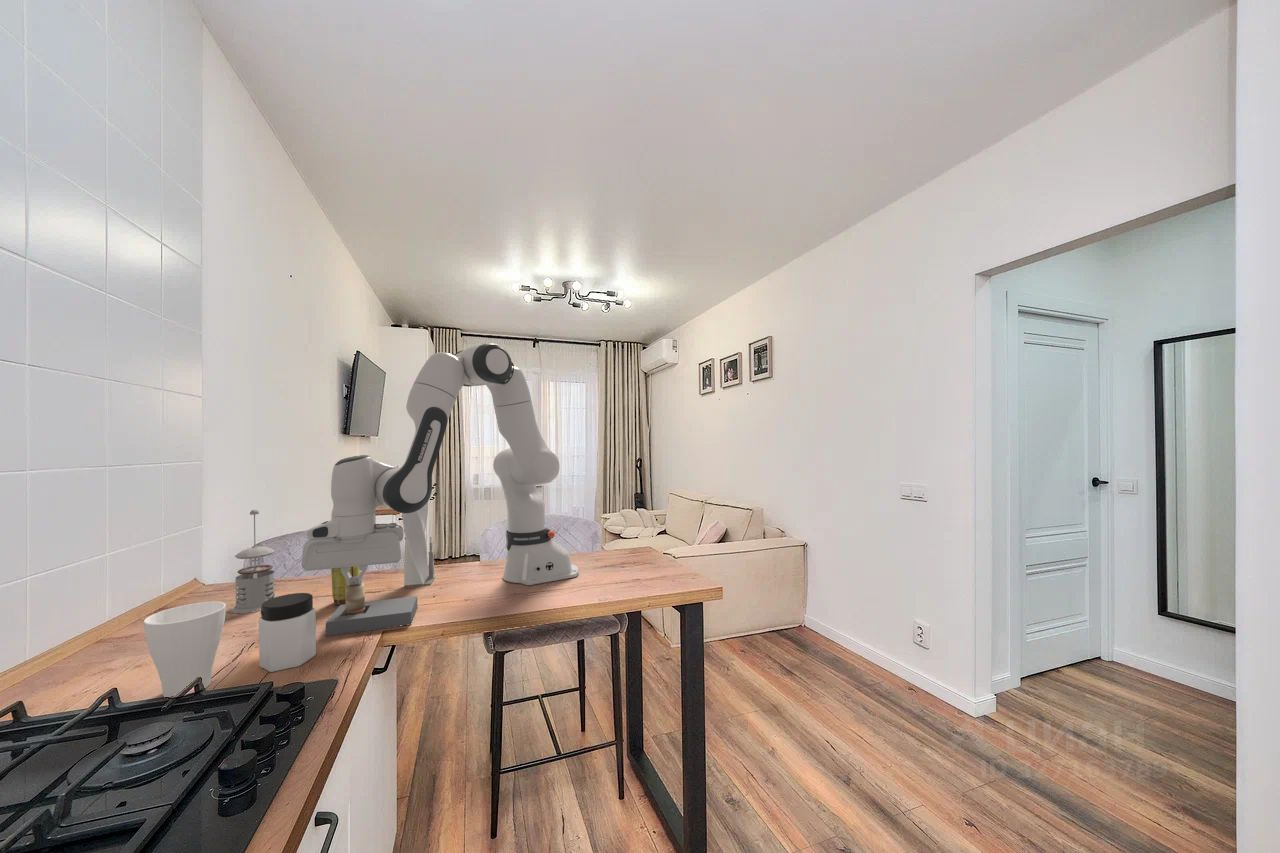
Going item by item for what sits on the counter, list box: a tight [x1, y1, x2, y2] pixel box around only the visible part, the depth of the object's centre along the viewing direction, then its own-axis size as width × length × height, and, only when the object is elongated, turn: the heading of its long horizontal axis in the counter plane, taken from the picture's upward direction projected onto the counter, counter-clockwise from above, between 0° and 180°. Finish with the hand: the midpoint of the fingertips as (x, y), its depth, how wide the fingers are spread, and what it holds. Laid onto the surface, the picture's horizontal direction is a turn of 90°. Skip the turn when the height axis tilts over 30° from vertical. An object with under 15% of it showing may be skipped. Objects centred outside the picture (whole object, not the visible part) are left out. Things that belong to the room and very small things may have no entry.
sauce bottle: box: [330, 566, 360, 606], centre depth 125 cm, size 6×6×20 cm
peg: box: [345, 582, 366, 615], centre depth 111 cm, size 4×4×9 cm
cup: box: [143, 601, 227, 698], centre depth 83 cm, size 10×10×14 cm
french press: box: [230, 509, 276, 614], centre depth 124 cm, size 10×12×25 cm
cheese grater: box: [401, 501, 436, 588], centre depth 140 cm, size 8×8×28 cm
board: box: [325, 595, 418, 637], centre depth 112 cm, size 17×11×3 cm, turn 108°
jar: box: [258, 592, 317, 673], centre depth 93 cm, size 9×8×12 cm
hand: (354, 585), depth 111 cm, fingers closed, pressing on peg
